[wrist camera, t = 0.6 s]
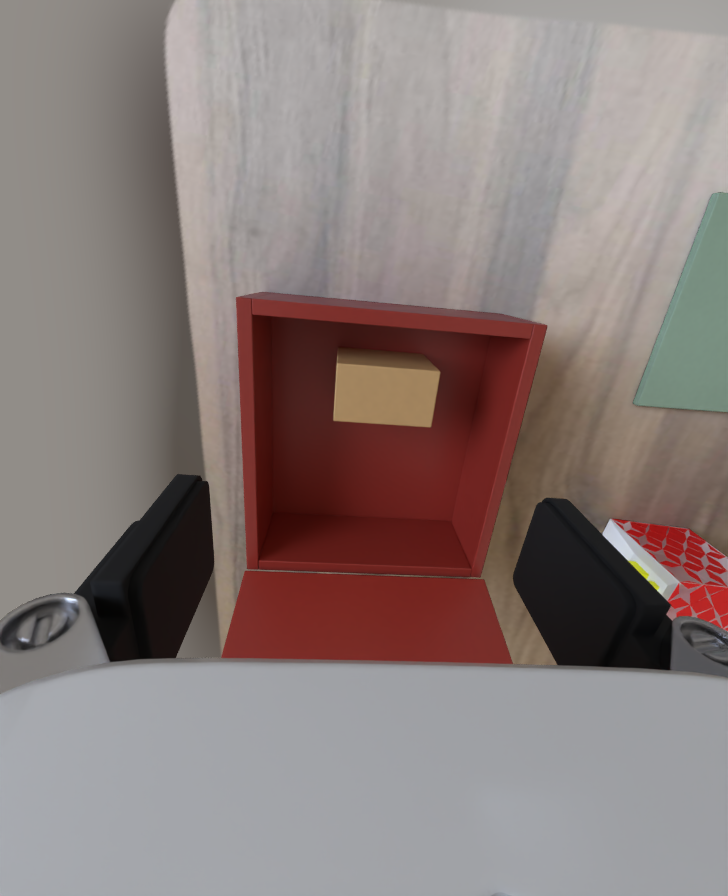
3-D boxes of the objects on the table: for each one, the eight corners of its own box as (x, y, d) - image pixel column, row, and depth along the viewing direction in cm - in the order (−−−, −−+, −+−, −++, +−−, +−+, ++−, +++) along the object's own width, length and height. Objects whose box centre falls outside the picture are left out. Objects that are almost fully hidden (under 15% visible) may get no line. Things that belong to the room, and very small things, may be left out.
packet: (337, 346, 27) (336, 362, 22) (423, 353, 27) (441, 371, 22) (334, 395, 28) (333, 421, 23) (416, 401, 29) (431, 428, 24)
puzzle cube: (610, 518, 35) (679, 581, 28) (688, 528, 36) (775, 592, 29) (575, 586, 38) (630, 659, 31) (648, 594, 39) (718, 667, 32)
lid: (98, 1107, 11) (138, 1091, 14) (652, 1069, 12) (586, 1061, 15) (244, 570, 26) (249, 614, 29) (484, 579, 28) (467, 620, 30)
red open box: (261, 291, 26) (235, 296, 20) (502, 313, 27) (548, 325, 21) (265, 514, 33) (246, 569, 27) (456, 523, 34) (480, 578, 28)
